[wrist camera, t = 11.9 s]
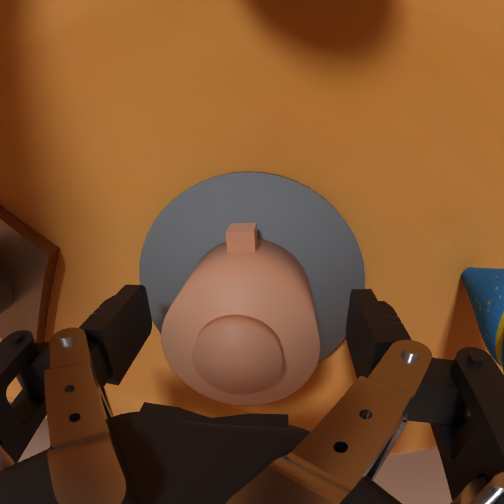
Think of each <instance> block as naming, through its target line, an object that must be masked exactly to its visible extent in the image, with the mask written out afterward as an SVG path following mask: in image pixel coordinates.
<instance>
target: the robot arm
mask: <svg viewBox="0 0 504 504" xmlns="http://www.w3.org/2000/svg"><path fill="white" fill-rule="evenodd" d="M151 329H152V318H151V313H150V307H149V302H148V296H147V291H146V288H145V286H143V285H125V286H124V287H123V288H122V289H121V290H120V291H119V292H118V293H117V294H116V295H114V296H113V297H111V298H109V299H107V300H105V301H104V302H103V303H102V304H101V305H100V306H99V308H98V309H96V310H95V311H94V312H93V314H91V315H90V316H89V318H88V319H87V320H86V321H85V322H84V323H83V324H82V325H81V326H80V327H79V328H66V329H63V330H60V331H58V332H57V333H55V334H54V335H53V336H52V337H51V339H50V342H45V343H36V342H35V339H34V337H33V334H32V333H31V332H30V331H27V330H20V331H16V332H13V333H11V334H9V335H8V336H6V337H5V338H4V339H3V340H2V341H1V342H0V504H402V503H400V502H399V501H398V500H396V499H395V498H394V497H393V496H391V495H390V494H389V493H387V492H386V491H385V490H384V489H382V488H381V487H380V486H379V485H377V484H376V483H375V482H374V481H373V480H374V478H375V476H376V475H377V473H378V471H379V470H380V468H381V466H382V465H383V463H384V461H385V459H386V458H387V456H388V455H389V453H390V451H391V450H392V448H393V446H394V445H395V443H396V441H397V439H398V438H399V436H400V434H401V432H402V431H403V429H404V427H405V425H406V423H407V421H408V420H409V421H417V422H427V423H430V424H431V427H432V430H433V433H434V437H435V440H436V443H437V446H438V450H439V453H440V456H441V460H442V463H443V467H444V471H445V474H446V478H447V482H448V486H449V489H450V493H451V498H452V502H451V503H450V504H504V375H503V373H502V372H501V370H500V369H499V367H498V366H497V364H496V363H495V361H494V360H493V358H492V357H491V356H490V355H489V354H488V353H487V352H485V351H483V350H481V349H478V348H473V347H467V348H463V349H461V350H459V351H458V352H457V354H456V357H455V360H446V359H437V358H433V357H432V353H431V351H430V349H429V348H428V347H427V346H425V345H424V344H422V343H420V342H417V341H413V340H411V338H410V336H409V334H408V333H407V331H406V329H405V327H404V326H403V324H402V323H401V320H400V319H399V317H397V314H396V312H395V310H394V309H393V307H391V306H390V305H389V304H387V303H386V302H384V301H378V300H377V299H376V297H375V295H374V293H373V291H372V290H371V289H352V290H351V293H350V300H349V308H348V316H347V323H346V339H347V343H348V347H349V350H350V354H351V358H352V361H353V365H354V369H355V372H356V376H357V380H356V381H355V382H354V384H353V385H352V386H351V387H350V388H349V390H348V391H347V392H346V393H345V394H344V396H343V397H342V398H341V399H340V400H339V401H338V402H337V404H336V405H335V406H334V407H333V408H332V409H331V410H330V412H329V413H328V414H327V415H326V416H325V417H324V418H323V419H322V420H321V421H320V423H319V424H318V425H317V426H316V427H315V428H314V429H313V430H312V431H311V432H310V431H308V430H305V429H302V428H299V427H296V426H291V425H288V414H243V415H235V416H227V417H217V418H210V417H206V416H202V415H199V414H196V413H193V412H190V411H187V410H184V409H181V408H178V407H173V406H165V405H159V404H152V403H146V402H144V404H143V406H142V408H141V410H140V412H131V413H125V414H120V415H117V416H114V415H113V412H112V409H111V406H110V403H109V400H108V397H107V394H106V391H105V388H104V386H105V384H106V383H109V384H114V385H119V384H120V382H121V380H122V379H123V377H124V375H125V374H126V372H127V370H128V369H129V367H130V366H131V364H132V362H133V361H134V359H135V357H136V356H137V354H138V353H139V351H140V349H141V348H142V346H143V345H144V343H145V341H146V340H147V338H148V337H149V335H150V333H151ZM15 377H17V379H18V381H19V383H20V385H21V387H22V390H21V392H20V393H19V394H18V396H17V397H16V398H15V400H14V401H13V402H12V404H11V405H10V404H9V402H8V400H7V398H6V390H7V387H8V386H9V384H10V383H11V382H12V381H13V379H14V378H15ZM46 415H47V420H48V429H49V437H50V448H49V449H47V450H45V451H43V452H41V453H38V454H36V455H34V456H32V457H30V458H28V459H25V460H23V461H21V462H19V463H17V462H18V460H19V459H20V457H21V455H22V454H23V452H24V450H25V449H26V447H27V445H28V444H29V442H30V440H31V439H32V437H33V435H34V434H35V432H36V430H37V429H38V427H39V426H40V424H41V422H42V421H43V419H44V418H45V416H46Z"/></svg>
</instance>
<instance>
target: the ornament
mask: <svg viewBox="0 0 504 504" xmlns="http://www.w3.org/2000/svg"><path fill="white" fill-rule="evenodd" d="M462 280H463V283H464V286H465V288H466V290H467V293H468V295H469V298H470V301H471V304H472V307H473V310H474V313H475V316H476V319H477V322H478V326H479V329H480V332H481V334H482V337H483V340H484V342H485V344H486V347H487V349H488V351H489V353H490V354H491V356H492V357H493V359H494V360H495V361H496V362H497V363H498V364H499V365H500V366H501V367H503V371H504V269H489V268H473V267H470V268H467V269H466V270H465V271H464V272H463V273H462Z"/></svg>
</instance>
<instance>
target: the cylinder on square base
mask: <svg viewBox="0 0 504 504" xmlns="http://www.w3.org/2000/svg"><path fill="white" fill-rule="evenodd" d="M58 253H59V248H58V247H57V246H55V245H54V244H52V243H51V242H49V241H48V240H46V239H45V238H43V237H42V236H41V235H39V234H38V233H36V232H35V231H34V230H32V229H31V228H29V227H28V226H27V225H25V224H24V223H23V222H21V221H20V220H19V219H17V218H16V217H14V216H13V215H12V214H10V213H9V212H8V211H7V210H5V209H4V208H3V207H1V206H0V337H1V338H2V339H4V338H5V337H6V336H8V335H9V334H11V333H13V332H16V331H20V330H27V331H30V332H31V333H32V334H33V337H34V339H35V342H36V343H43V342H44V333H45V325H46V318H47V311H48V304H49V298H50V292H51V287H52V281H53V276H54V271H55V266H56V262H57V257H58Z"/></svg>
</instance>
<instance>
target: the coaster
mask: <svg viewBox="0 0 504 504" xmlns="http://www.w3.org/2000/svg"><path fill="white" fill-rule="evenodd" d="M232 223H257V238H259V239H264V240H267V241H271V242H273V243H276V244H278V245H280V246H281V247H283V248H285V249H286V250H288V251H289V252H290V253H291V254H293V255H294V256H295V257H296V259H297V260H298V261H299V262H300V264H301V265H302V266H303V268H304V270H305V272H306V274H307V277H308V279H309V284H310V289H311V294H312V299H313V305H314V311H315V316H316V322H317V328H318V334H319V340H320V354H319V359H318V362H319V361H320V360H322V359H324V358H325V357H326V356H327V355H329V354H330V353H331V352H332V351H333V350H335V349H336V347H337V346H338V345H339V344H340V343H341V342H342V341H343V340H344V339H345V337H346V323H347V316H348V308H349V300H350V293H351V290H352V289H365V272H364V263H363V259H362V255H361V251H360V248H359V246H358V243H357V241H356V238H355V236H354V234H353V233H352V231H351V229H350V228H349V226H348V224H347V223H346V221H345V220H344V219H343V218H342V216H341V215H340V214H339V213H338V211H337V210H336V209H335V208H334V207H333V206H332V205H331V204H330V203H329V202H328V201H327V200H326V199H324V198H323V197H322V196H321V195H319V194H318V193H316V192H315V191H313V190H312V189H311V188H309V187H307V186H305V185H303V184H301V183H299V182H297V181H295V180H292V179H289V178H286V177H283V176H280V175H275V174H270V173H264V172H235V173H228V174H224V175H220V176H216V177H213V178H210V179H208V180H205V181H202V182H200V183H198V184H196V185H195V186H193V187H191V188H189V189H188V190H186V191H184V192H183V193H181V194H180V195H179V196H177V197H176V198H175V199H174V200H172V201H171V202H170V203H169V204H168V205H167V206H166V207H165V208H164V209H163V211H162V212H161V213H160V214H159V216H158V217H157V219H156V220H155V221H154V223H153V224H152V226H151V228H150V230H149V232H148V234H147V236H146V239H145V242H144V245H143V248H142V254H141V259H140V285H143V286H145V288H146V291H147V296H148V302H149V307H150V313H151V318H152V321H153V322H154V324H155V326H156V327H157V329H158V330H159V331H160V333H161V332H162V325H163V322H164V319H165V316H166V314H167V312H168V310H169V308H170V307H171V305H172V303H173V302H174V300H175V299H176V297H177V296H178V294H179V292H180V291H181V289H182V288H183V286H184V285H185V283H186V281H187V280H188V278H189V277H190V275H191V274H192V272H193V271H194V269H195V267H196V266H197V264H198V263H199V261H200V260H201V259H202V258H203V256H204V255H205V254H206V253H207V252H208V251H210V250H211V249H212V248H214V247H215V246H217V245H219V244H221V243H223V242H226V233H225V232H226V230H227V229H228V227H229V225H230V224H232Z"/></svg>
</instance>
